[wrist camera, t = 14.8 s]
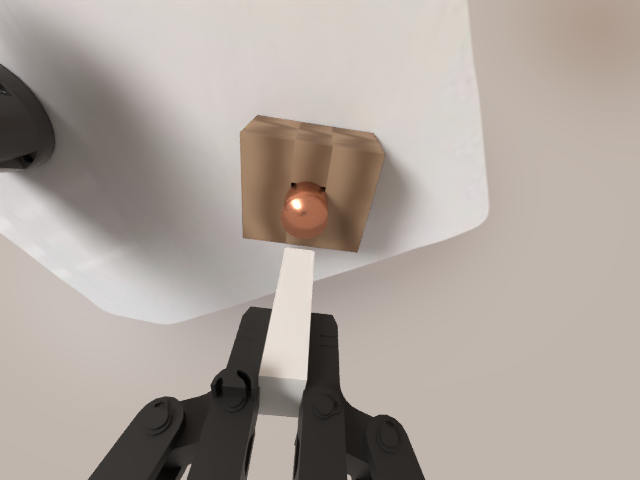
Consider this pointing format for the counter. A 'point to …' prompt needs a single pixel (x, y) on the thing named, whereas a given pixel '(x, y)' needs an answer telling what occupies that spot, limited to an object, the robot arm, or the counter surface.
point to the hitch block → (307, 178)
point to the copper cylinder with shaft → (305, 210)
